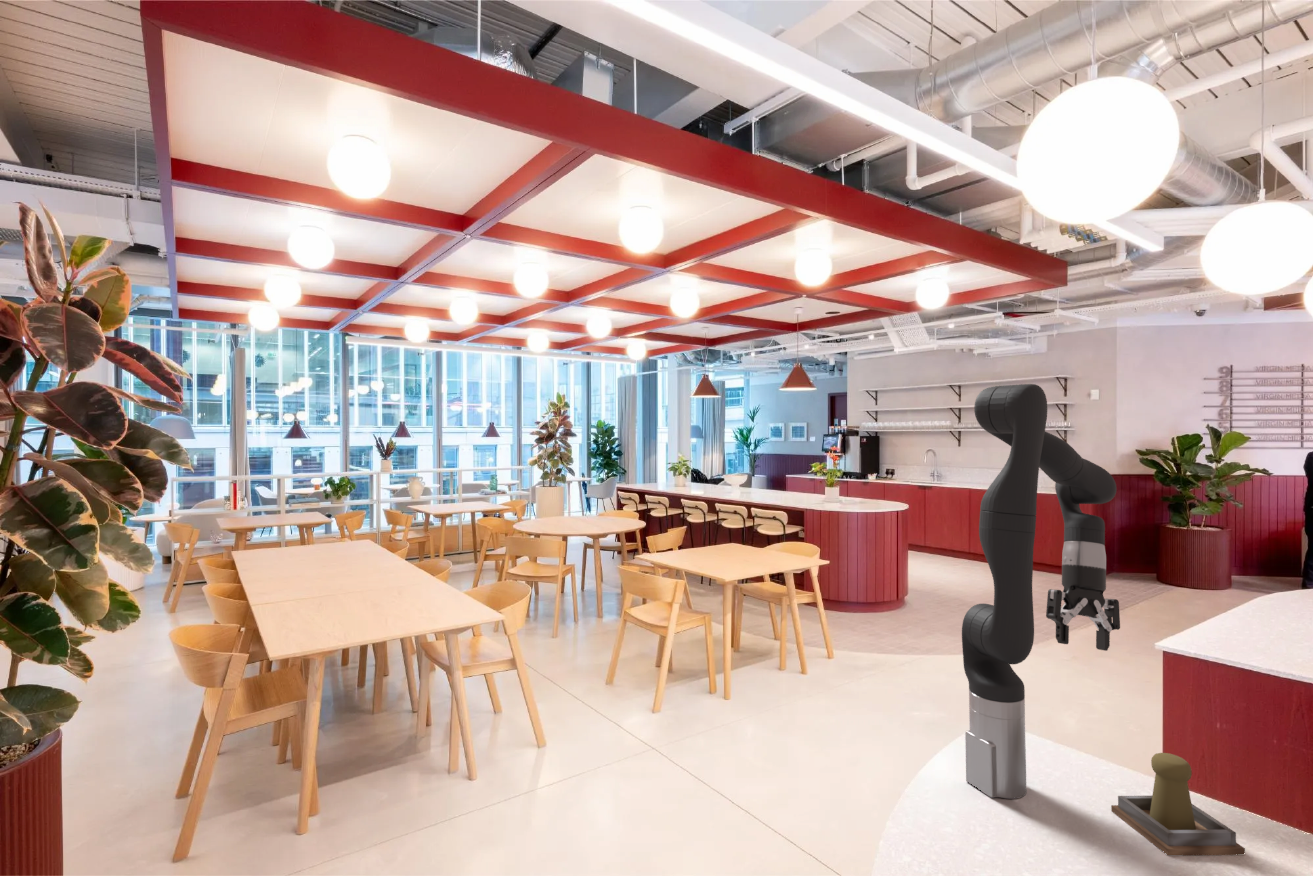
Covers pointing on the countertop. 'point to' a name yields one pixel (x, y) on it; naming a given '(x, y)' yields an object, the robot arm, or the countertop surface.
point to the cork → (1172, 792)
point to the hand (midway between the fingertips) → (1082, 646)
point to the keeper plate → (1201, 841)
